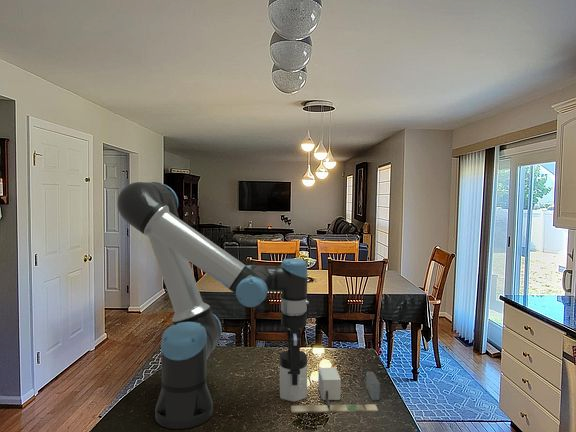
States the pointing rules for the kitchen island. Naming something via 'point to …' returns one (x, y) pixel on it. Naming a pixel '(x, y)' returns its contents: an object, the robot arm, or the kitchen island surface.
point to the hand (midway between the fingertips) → (293, 386)
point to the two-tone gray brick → (373, 385)
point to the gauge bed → (333, 408)
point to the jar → (286, 377)
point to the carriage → (329, 384)
